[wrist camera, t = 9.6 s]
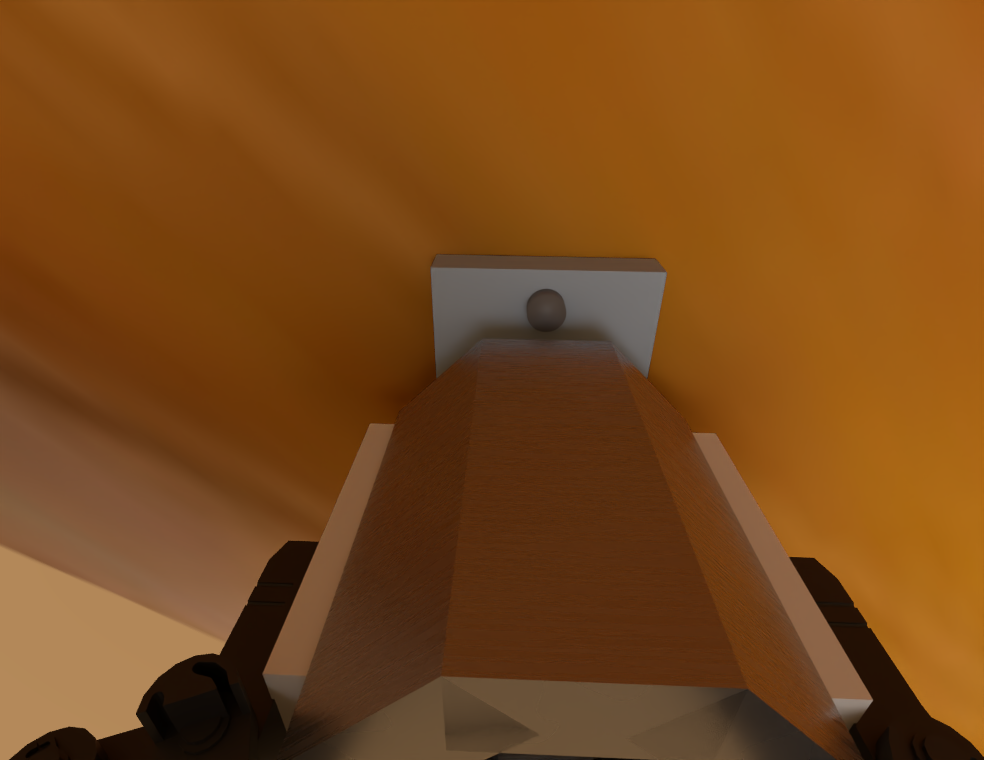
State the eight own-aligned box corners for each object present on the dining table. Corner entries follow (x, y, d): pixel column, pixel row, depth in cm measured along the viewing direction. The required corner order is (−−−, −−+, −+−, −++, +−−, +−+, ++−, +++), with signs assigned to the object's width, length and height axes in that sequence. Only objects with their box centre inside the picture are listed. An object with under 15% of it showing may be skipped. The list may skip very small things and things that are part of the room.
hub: (413, 551, 16) (335, 912, 9) (391, 336, 12) (229, 667, 5) (651, 559, 16) (762, 935, 9) (703, 343, 12) (971, 697, 5)
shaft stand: (448, 518, 19) (410, 765, 12) (437, 254, 14) (361, 415, 7) (609, 524, 19) (665, 779, 12) (655, 258, 14) (799, 427, 7)
